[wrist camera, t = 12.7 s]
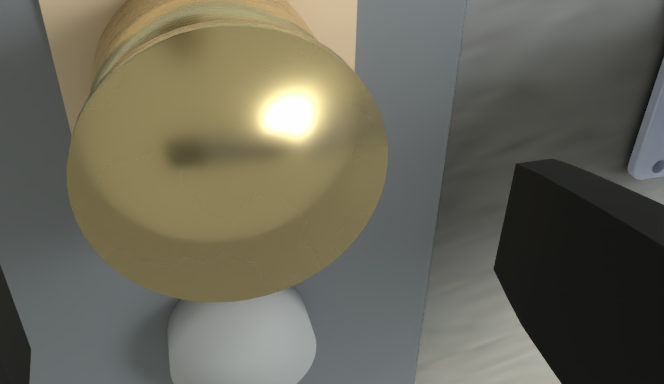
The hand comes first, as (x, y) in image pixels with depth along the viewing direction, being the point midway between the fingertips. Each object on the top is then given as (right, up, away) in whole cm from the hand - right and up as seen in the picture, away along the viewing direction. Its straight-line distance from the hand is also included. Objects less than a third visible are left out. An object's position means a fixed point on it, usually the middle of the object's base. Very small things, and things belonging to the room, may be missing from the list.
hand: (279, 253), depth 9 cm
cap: (-2, +3, +6) cm, 7 cm away
